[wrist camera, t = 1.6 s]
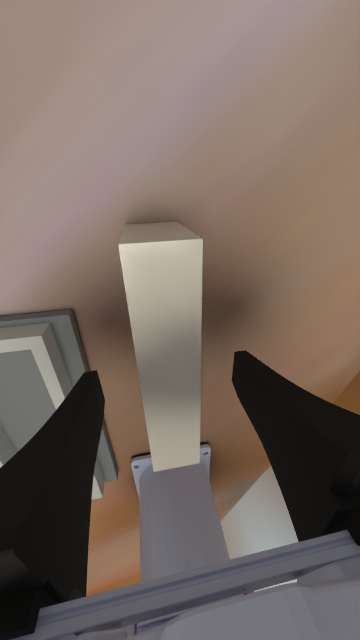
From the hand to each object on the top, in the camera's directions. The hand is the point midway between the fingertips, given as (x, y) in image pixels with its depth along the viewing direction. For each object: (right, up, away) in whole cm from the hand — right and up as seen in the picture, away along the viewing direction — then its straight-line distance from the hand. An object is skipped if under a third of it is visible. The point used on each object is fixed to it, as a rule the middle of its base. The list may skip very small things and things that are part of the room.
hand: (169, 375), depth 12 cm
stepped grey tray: (-10, -5, +6) cm, 13 cm away
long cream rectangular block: (-1, +2, +5) cm, 5 cm away
